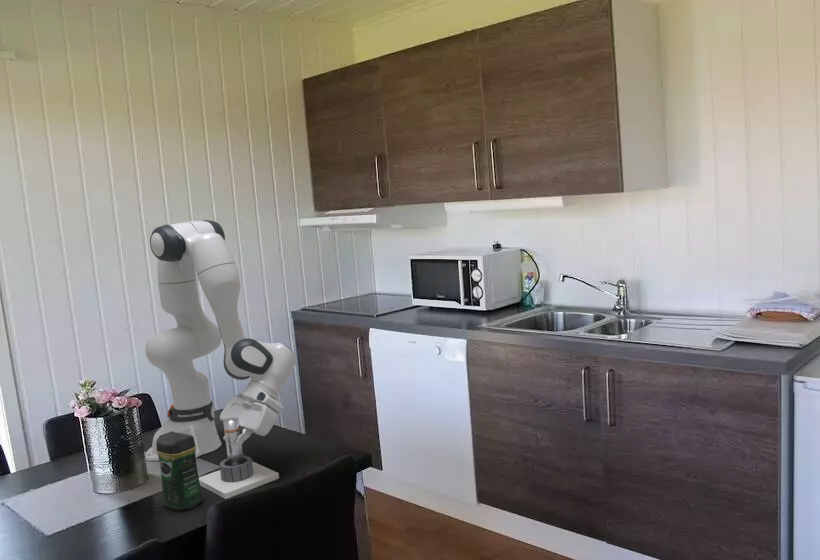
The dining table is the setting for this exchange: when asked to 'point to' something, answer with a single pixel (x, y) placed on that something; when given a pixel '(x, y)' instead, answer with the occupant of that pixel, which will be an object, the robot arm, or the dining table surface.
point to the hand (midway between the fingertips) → (231, 442)
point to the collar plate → (237, 486)
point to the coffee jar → (179, 470)
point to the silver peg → (230, 435)
